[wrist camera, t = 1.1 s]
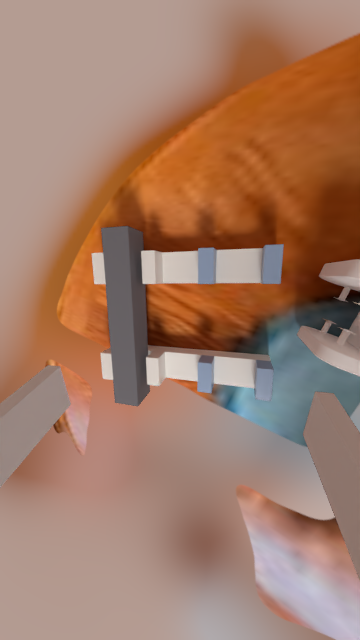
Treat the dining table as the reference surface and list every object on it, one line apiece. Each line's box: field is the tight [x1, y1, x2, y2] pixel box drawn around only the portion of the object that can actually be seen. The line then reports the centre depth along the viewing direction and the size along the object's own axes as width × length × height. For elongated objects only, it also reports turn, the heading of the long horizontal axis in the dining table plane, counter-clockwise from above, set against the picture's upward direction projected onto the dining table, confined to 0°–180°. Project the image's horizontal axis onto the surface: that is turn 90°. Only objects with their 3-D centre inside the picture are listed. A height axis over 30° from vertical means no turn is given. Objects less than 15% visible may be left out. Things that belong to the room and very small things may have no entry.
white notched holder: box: [92, 244, 284, 401], centre depth 33 cm, size 20×26×6 cm
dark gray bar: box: [101, 226, 150, 406], centre depth 33 cm, size 26×4×4 cm, turn 1°
